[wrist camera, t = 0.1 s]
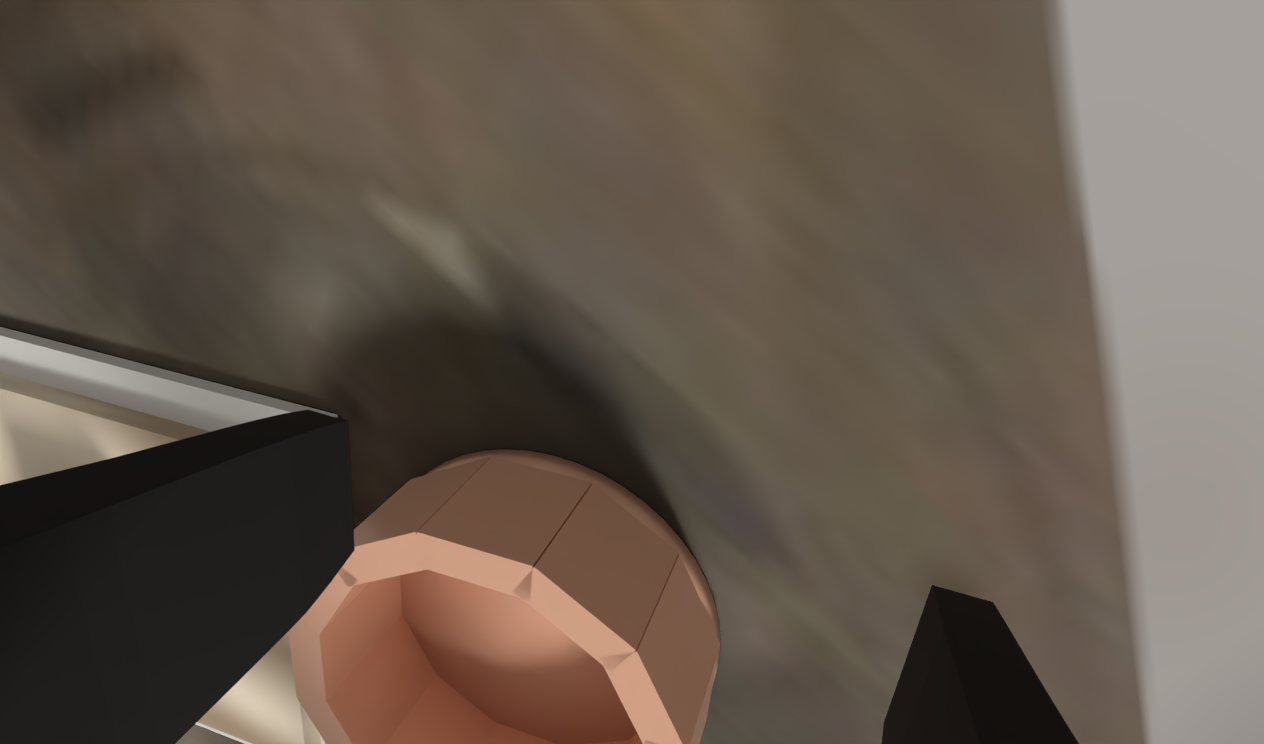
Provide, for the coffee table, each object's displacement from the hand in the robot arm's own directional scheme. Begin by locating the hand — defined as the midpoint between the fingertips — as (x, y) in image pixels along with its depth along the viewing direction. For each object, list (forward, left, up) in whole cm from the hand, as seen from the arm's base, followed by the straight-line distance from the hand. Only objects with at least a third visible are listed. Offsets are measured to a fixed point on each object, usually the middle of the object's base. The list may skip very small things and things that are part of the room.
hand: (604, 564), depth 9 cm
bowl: (-11, +5, -10) cm, 16 cm away
